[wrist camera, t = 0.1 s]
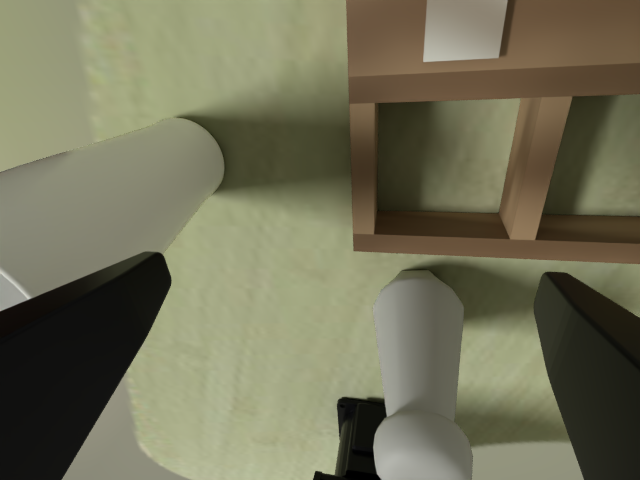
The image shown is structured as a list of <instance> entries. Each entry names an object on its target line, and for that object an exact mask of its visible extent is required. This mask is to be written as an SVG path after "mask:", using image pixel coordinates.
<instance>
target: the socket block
mask: <svg viewBox="0 0 640 480" xmlns="http://www.w3.org/2000/svg"><path fill="white" fill-rule="evenodd" d="M346 9H347V43H348V77H349V111H350V145H351V179H352V213H353V246H354V251H362V252H384V253H407V254H429V255H451V256H473V257H495V258H517V259H539V260H561V261H583V262H605V263H628V264H640V217H630V216H587V215H544V214H542V211H543V207H544V204H545V200H546V196H547V192H548V188H549V185H550V181H551V177H552V173H553V169H554V166H555V162H556V158H557V154H558V150H559V147H560V143H561V139H562V135H563V131H564V127H565V124H566V120H567V116H568V112H569V108H570V105H571V101H572V97H573V96H599V95H629V94H640V0H346ZM510 98H521V102H520V107H519V112H518V117H517V122H516V127H515V133H514V138H513V143H512V148H511V153H510V158H509V163H508V168H507V173H506V179H505V184H504V189H503V194H502V199H501V204H500V209H499V213H458V212H415V211H377V198H378V103H390V102H420V101H450V100H480V99H510Z"/></svg>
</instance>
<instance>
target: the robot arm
mask: <svg viewBox="0 0 640 480" xmlns="http://www.w3.org/2000/svg"><path fill="white" fill-rule="evenodd" d="M170 286H171V275H170V272H169V270H168V267H167V264H166V261H165V258H164V256H163V254H162V253H160V252H151V251H145V252H142V253H140V254H137V255H135V256H132V257H130V258H128V259H125V260H123V261H120V262H118V263H116V264H113V265H111V266H108V267H106V268H103V269H101V270H99V271H96V272H94V273H91V274H89V275H87V276H84V277H82V278H79V279H77V280H74V281H72V282H70V283H67V284H65V285H62V286H60V287H58V288H55V289H53V290H50V291H48V292H45V293H43V294H41V295H38V296H36V297H33V298H31V299H29V300H26V301H24V302H21V303H19V304H16V305H14V306H12V307H9V308H7V309H4V310H2V311H0V480H62V478H63V476H64V475H65V473H66V472H67V470H68V468H69V467H70V465H71V463H72V462H73V460H74V458H75V457H76V455H77V453H78V451H79V450H80V448H81V446H82V445H83V443H84V441H85V440H86V438H87V436H88V435H89V433H90V431H91V430H92V428H93V426H94V425H95V423H96V421H97V420H98V418H99V416H100V415H101V413H102V411H103V410H104V408H105V406H106V405H107V403H108V401H109V400H110V398H111V396H112V394H113V393H114V391H115V390H116V388H117V386H118V385H119V383H120V381H121V379H122V378H123V376H124V374H125V373H126V371H127V369H128V368H129V366H130V364H131V363H132V361H133V359H134V358H135V356H136V354H137V353H138V351H139V349H140V348H141V346H142V344H143V343H144V341H145V339H146V337H147V335H148V333H149V331H150V329H151V327H152V325H153V323H154V321H155V319H156V317H157V315H158V312H159V310H160V308H161V306H162V304H163V302H164V300H165V297H166V295H167V293H168V291H169V289H170ZM534 315H535V319H536V324H537V328H538V333H539V338H540V342H541V347H542V352H543V356H544V361H545V365H546V369H547V374H548V377H549V380H550V384H551V387H552V390H553V392H554V395H555V398H556V401H557V404H558V407H559V409H560V412H561V415H562V418H563V421H564V424H565V427H566V429H567V432H568V435H569V438H570V441H571V444H572V446H573V449H574V452H575V455H576V458H577V461H578V463H579V466H580V469H581V472H582V475H583V478H584V480H640V318H639V317H637V316H636V315H634V314H633V313H631V312H629V311H628V310H626V309H624V308H623V307H621V306H620V305H618V304H616V303H615V302H613V301H612V300H610V299H608V298H607V297H605V296H603V295H602V294H600V293H599V292H597V291H595V290H594V289H592V288H590V287H589V286H587V285H586V284H584V283H582V282H581V281H579V280H578V279H576V278H574V277H573V276H571V275H569V274H568V273H564V272H545V273H544V274H543V275H542V277H541V280H540V283H539V287H538V290H537V294H536V297H535V301H534ZM337 410H338V424H339V437H340V443H339V450H338V457H337V463H336V470H335V475H330V474H324V473H322V472H320V471H315V475H314V478H313V480H381V478H380V477H379V476H378V475H377V471H376V466H375V460H374V450H373V445H374V437H375V433H376V431H377V428H378V427H379V425H380V424H381V423H382V421H383V420H384V418H386V417H387V414H386V406H385V404H382V403H374V402H365V401H357V400H349V399H339V400H338V403H337Z"/></svg>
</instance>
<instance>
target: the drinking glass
mask: <svg viewBox="0 0 640 480" xmlns="http://www.w3.org/2000/svg"><path fill="white" fill-rule="evenodd" d="M224 168H225V166H224V158H223V154H222V151H221V149H220V147H219V145H218V143H217V142H216V140H215V139H214V138H213V136H212V135H211V134H210V133H209V132H208V131H207V130H206V129H204V128H203V127H202V126H200V125H199V124H197V123H195V122H193V121H190V120H187V119H183V118H167V119H164V120H161V121H158V122H156V123H154V124H152V125H150V126H147V127H145V128H141V129H138V130H135V131H132V132H129V133H126V134H122V135H119V136H116V137H113V138H109V139H106V140H103V141H99V142H96V143H93V144H89V145H86V146H83V147H79V148H76V149H73V150H69V151H66V152H63V153H59V154H56V155H53V156H49V157H46V158H43V159H39V160H36V161H33V162H30V163H26V164H23V165H20V166H17V167H14V168H11V169H8V170H5V171H2V172H0V311H2V310H4V309H7V308H9V307H12V306H14V305H16V304H19V303H21V302H24V301H26V300H29V299H31V298H33V297H36V296H38V295H41V294H43V293H45V292H48V291H50V290H53V289H55V288H58V287H60V286H62V285H65V284H67V283H70V282H72V281H74V280H77V279H79V278H82V277H84V276H87V275H89V274H91V273H94V272H96V271H99V270H101V269H103V268H106V267H108V266H111V265H113V264H116V263H118V262H120V261H123V260H125V259H128V258H130V257H132V256H135V255H137V254H140V253H142V252H145V251H151V252H160V253H162V254H164V253H165V251H166V250H167V249H168V248H169V246H170V245H171V244H172V242H173V241H174V240H175V239H176V237H177V236H178V235H179V233H180V232H181V231H182V230H183V228H184V227H185V226H186V224H187V223H188V222H189V221H190V219H191V218H192V217H193V216H194V214H195V213H196V212H197V211H198V209H199V208H200V207H201V206H202V204H203V203H204V202H205V201H206V200H207V199H208V198H209V197H210V196H211V195H212V194H213V193H214V192H215V191H216V190H217V188H218V187H219V185H220V184H221V182H222V179H223V176H224Z"/></svg>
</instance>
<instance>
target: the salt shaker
mask: <svg viewBox="0 0 640 480" xmlns="http://www.w3.org/2000/svg"><path fill="white" fill-rule="evenodd" d="M373 314H374V322H375V329H376V337H377V345H378V352H379V360H380V368H381V375H382V383H383V391H384V398H385V406H386V414H387V417H386V418H384V420H383V421H382V423H381V424H380V425H379V427H378V428H377V431H376V433H375V437H374V445H373V450H374V460H375V466H376V471H377V475H378V476H379V477H380V478H381V480H472V462H473V460H472V459H473V456H472V451H471V446H470V442H469V440H468V438H467V436H466V434H465V433H464V432H463V431H462V430H461V428H460V427H459V426H458V425H457V423H455V410H456V398H457V386H458V375H459V363H460V351H461V340H462V331H463V321H464V306H463V304H462V302H461V301H460V299H459V298H458V296H457V295H456V294H455V292H454V291H453V289H452V288H451V287H449V286H448V285H446V284H445V283H444V282H442V281H441V280H439V279H438V278H437V277H436V276H435V275H433V274H432V273H431V272H430V271H429V270H410V271H401V272H400V273H399V274H398V275H397V276H396V277H395V278H394V279H393V280H392V281H391V282H390V283H389V284H387V285H386V286H385V287H384V288H383V289H381V291H380V293H379V295H378V297H377V299H376V301H375V303H374V306H373Z"/></svg>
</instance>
